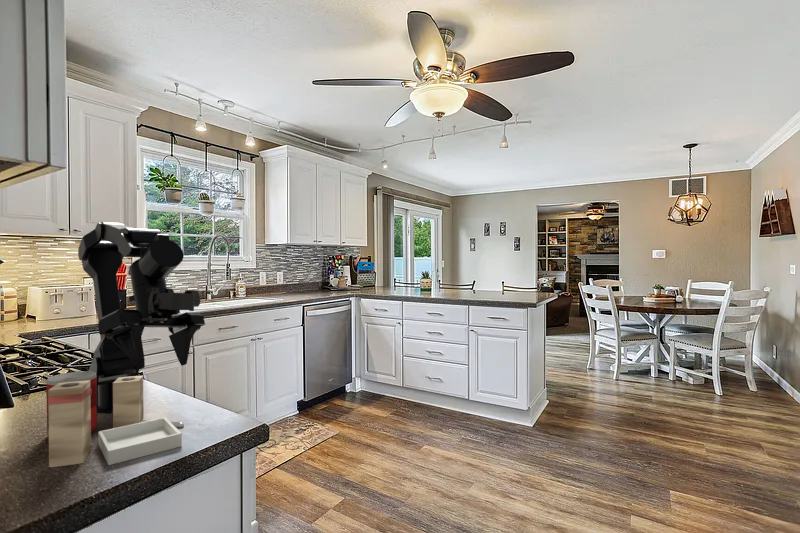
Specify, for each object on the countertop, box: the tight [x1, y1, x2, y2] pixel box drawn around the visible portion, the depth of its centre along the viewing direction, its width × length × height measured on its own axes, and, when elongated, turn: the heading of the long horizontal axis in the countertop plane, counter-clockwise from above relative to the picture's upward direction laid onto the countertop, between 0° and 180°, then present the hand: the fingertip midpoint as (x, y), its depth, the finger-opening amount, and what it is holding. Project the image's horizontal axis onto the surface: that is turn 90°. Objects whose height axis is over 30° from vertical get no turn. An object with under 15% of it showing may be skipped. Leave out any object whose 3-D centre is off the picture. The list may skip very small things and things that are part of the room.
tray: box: [97, 417, 183, 466], centre depth 79 cm, size 11×11×2 cm
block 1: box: [48, 380, 92, 468], centre depth 73 cm, size 4×4×13 cm
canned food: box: [46, 370, 98, 438], centre depth 85 cm, size 8×8×11 cm
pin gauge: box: [142, 419, 185, 429], centre depth 88 cm, size 9×1×1 cm, turn 84°
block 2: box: [112, 375, 145, 429], centre depth 90 cm, size 4×4×9 cm
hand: (164, 366), depth 81 cm, fingers open, 9 cm apart
